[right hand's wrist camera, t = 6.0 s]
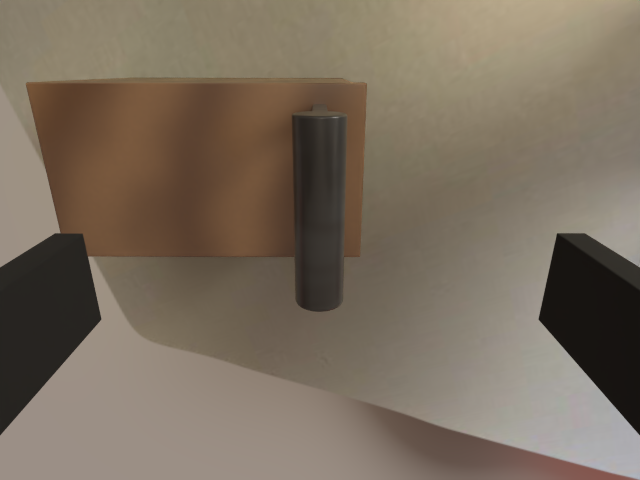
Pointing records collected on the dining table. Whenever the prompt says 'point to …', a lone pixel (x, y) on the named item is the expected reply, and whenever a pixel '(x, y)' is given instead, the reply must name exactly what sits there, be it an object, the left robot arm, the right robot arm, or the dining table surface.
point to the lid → (210, 171)
